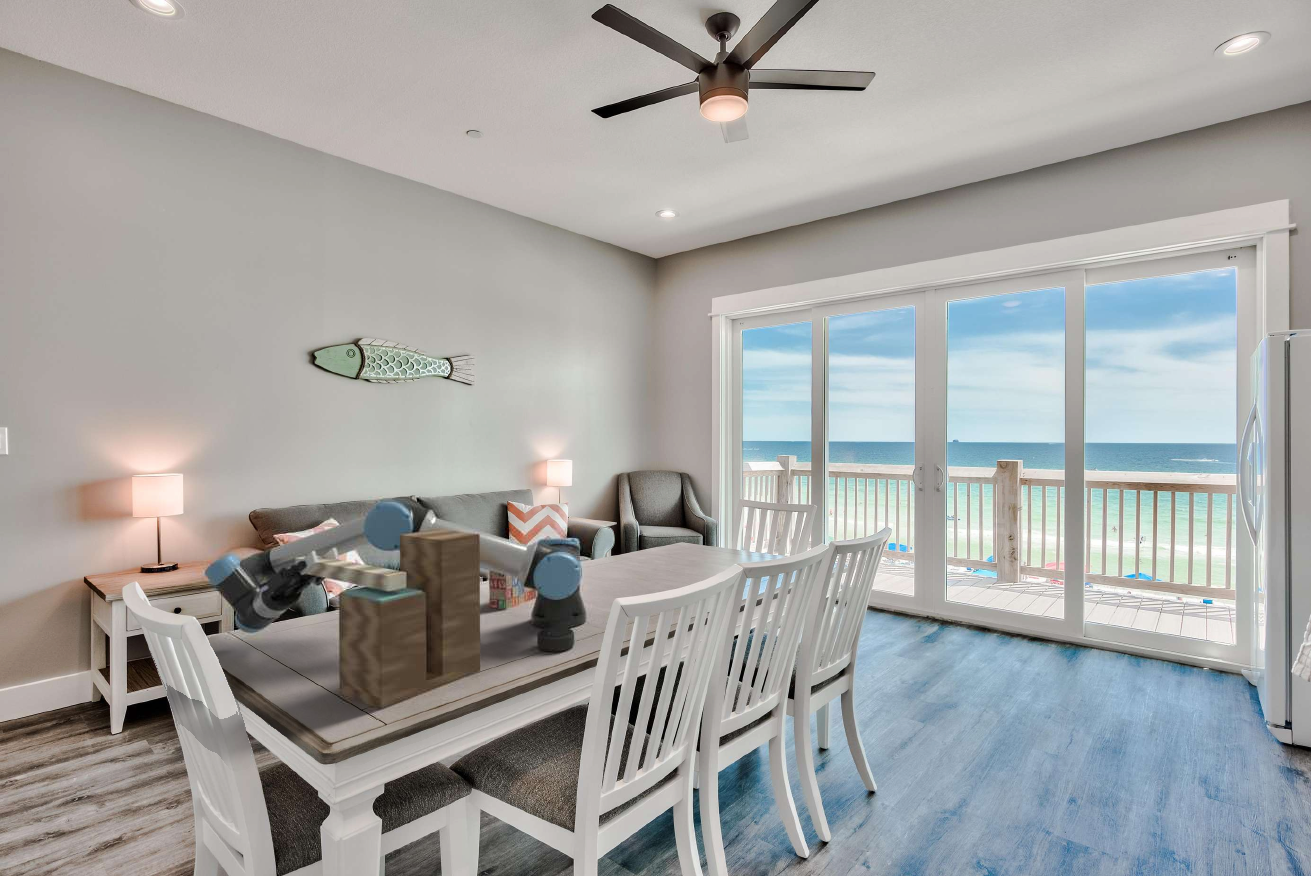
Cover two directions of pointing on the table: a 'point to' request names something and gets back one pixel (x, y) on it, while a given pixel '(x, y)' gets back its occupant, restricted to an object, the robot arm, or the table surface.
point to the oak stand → (414, 622)
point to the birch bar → (358, 574)
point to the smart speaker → (555, 639)
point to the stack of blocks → (507, 591)
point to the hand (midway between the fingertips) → (325, 555)
